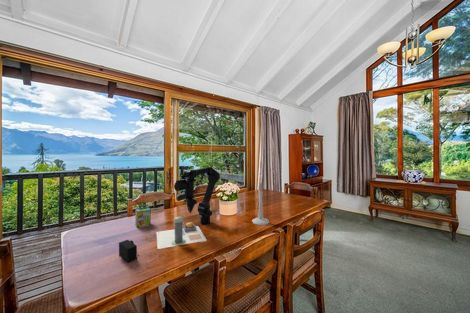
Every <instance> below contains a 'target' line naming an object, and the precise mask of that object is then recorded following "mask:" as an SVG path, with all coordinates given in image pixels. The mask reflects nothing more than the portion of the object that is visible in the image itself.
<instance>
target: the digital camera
mask: <svg viewBox="0 0 470 313" xmlns="http://www.w3.org/2000/svg"><path fill="white" fill-rule="evenodd" d="M137 247H138V246H137V245H136V244H135V243H134V240H129V239H126V240H122V241H120V242H118V256H119V257H121V259H122V260H124V262H126V263H127V264H129V262H130V263H132V262H134V261H136V259H138V249H137Z"/></svg>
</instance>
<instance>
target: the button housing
mask: <svg viewBox="0 0 470 313" xmlns="http://www.w3.org/2000/svg"><path fill="white" fill-rule="evenodd" d="M195 226H196V225H195V224H194V223H193V228H186V224H183V229H184V231H185V232H190V231H196V227H195Z"/></svg>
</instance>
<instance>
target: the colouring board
mask: <svg viewBox="0 0 470 313" xmlns="http://www.w3.org/2000/svg"><path fill="white" fill-rule="evenodd" d="M195 227H196V231H190V232H185V231H184V229H183V242H182V243H180V244H176V243H175V228H174V229H168V230H160V231H156V243H157V244H156V246H157V250H160V249H166V248H171V247H178V246H182V245H187V244H194V243H198V242H199V243H204V242H207V238H206V236H205V235H204V233H203V232H202V230H201V228H200V227H199V226H198V225H195Z"/></svg>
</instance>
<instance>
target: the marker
mask: <svg viewBox="0 0 470 313" xmlns="http://www.w3.org/2000/svg"><path fill="white" fill-rule="evenodd" d="M183 218H184V217H183V216H175V217H174V219H173V220H174V229H175V243H176V244H180V243H182V242H183V225H184V223H183V222H184V221H183V220H184V219H183Z"/></svg>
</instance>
